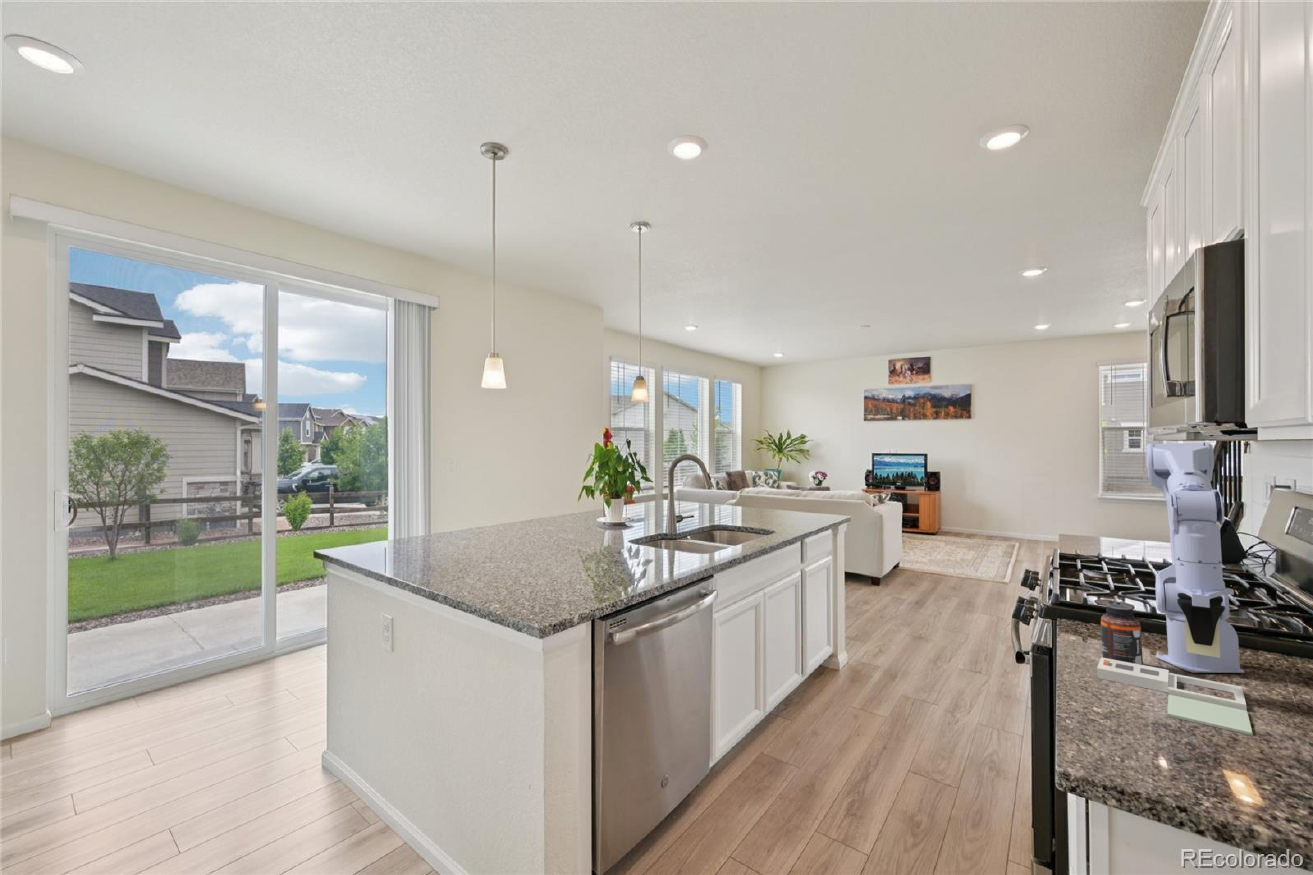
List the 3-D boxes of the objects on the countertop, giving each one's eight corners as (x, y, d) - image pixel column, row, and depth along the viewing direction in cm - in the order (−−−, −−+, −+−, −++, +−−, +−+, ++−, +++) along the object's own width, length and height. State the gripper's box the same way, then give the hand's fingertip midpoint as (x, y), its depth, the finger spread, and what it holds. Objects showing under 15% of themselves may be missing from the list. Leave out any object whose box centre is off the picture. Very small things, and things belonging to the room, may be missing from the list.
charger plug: (1219, 651, 92) (1217, 615, 93) (1220, 657, 90) (1218, 621, 90) (1186, 645, 95) (1184, 611, 95) (1186, 652, 92) (1184, 616, 93)
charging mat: (1168, 696, 91) (1168, 694, 91) (1247, 713, 85) (1247, 711, 85) (1167, 715, 85) (1167, 713, 85) (1252, 735, 79) (1252, 732, 79)
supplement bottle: (1151, 672, 101) (1148, 611, 102) (1114, 670, 103) (1111, 610, 103) (1130, 660, 107) (1127, 602, 108) (1095, 658, 108) (1093, 601, 109)
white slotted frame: (1242, 692, 92) (1241, 679, 92) (1246, 711, 86) (1245, 697, 86) (1102, 665, 105) (1101, 653, 105) (1096, 679, 99) (1096, 667, 99)
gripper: (1234, 570, 85) (1240, 658, 85) (1229, 556, 95) (1233, 634, 95) (1172, 565, 90) (1177, 648, 89) (1173, 552, 100) (1177, 626, 100)
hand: (1202, 640), depth 93 cm, fingers closed on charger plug, 4 cm apart
